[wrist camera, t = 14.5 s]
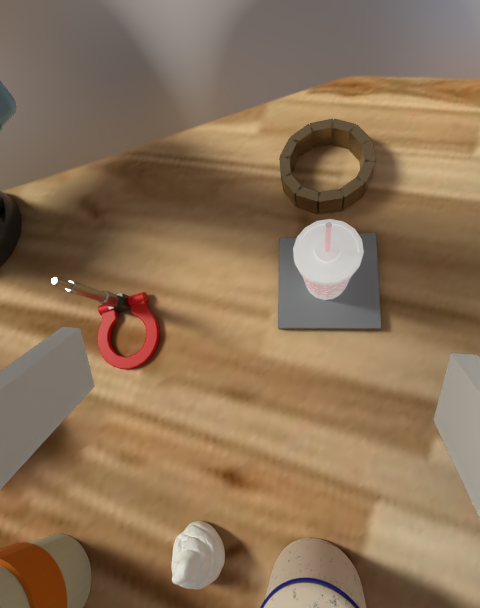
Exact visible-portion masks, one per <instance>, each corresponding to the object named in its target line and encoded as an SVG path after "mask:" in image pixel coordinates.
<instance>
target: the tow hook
mask: <svg viewBox="0 0 480 608" xmlns="http://www.w3.org/2000/svg"><path fill="white" fill-rule="evenodd" d="M51 283H52V284H53V285H56V286H59V287H62V288H65V290H66V291H68V292H71V293H74V294H78V295H81V296H84V297H87V298H90V299H94V300H97V301H99V302H100V303H101V304H103V305H100V306H99V307H98V311H99V313H100V315H102V319H103V321H102V322H101V324H100V328H99V331H98V346H99V350H100V352H101V354H102V357H103V358H104V359H105V360H106V361H107V363H109V364H111V365H112V366H114V367H117V368H120V369H133V368H136V367H139V366H141V365H142V364H144V363H146V362H147V361H148V360H149V359H150V358H151V357H152V355H153V354H154V352H155V350H156V348H157V346H158V342H159V337H160V329H159V325H158V321H157V319H156V317H155V315H154V314H153V313H152V312H151V311H150V310H149V309H148V307H147V302H148V296H147V294H146V293H145V292H142V293H139V294H136V295H133V296H127V295H124V294H122V293H120V294H117V295H116V294H113V293H111V292H108V291H99V290H96V289H94V288H91V287H88V286H85V285H83V284H80V283H77V282H74V281H71V280H70V281H66V280H63V279H60V278H57V277H54V278H52V280H51ZM130 308H131V312H132V314H133V315H136V316H137V317H139V318H140V319H141V320H142V321H143V322H144V324H145V326H146V331H147V335H146V341H145V343H144V345H143V347H142V348H141V350H140V351H139V352H138V353H136V354H134V355H132V356H129V357H124V356H121V355H119V354H118V353H117V352H116V351H115V350H114V349H113V346H112V344H111V332H112V329H113V327H114V325H115V323H116V322H117V321H118V319H119V318H118V312H120V311H123V310H126V309H130Z"/></svg>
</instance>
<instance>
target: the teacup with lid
mask: <svg viewBox="0 0 480 608" xmlns="http://www.w3.org/2000/svg"><path fill="white" fill-rule="evenodd" d="M261 608H366V603H365V598H364V593H363V588H362V584H361V581H360V578H359V575H358V573H357V571H356V569H355V567H354V565H353V564H352V562H351V561H350V559H349V558H348V557H347V556H346V555H345V554H344V553H343V552H342V551H341V550H340V549H339V548H337V547H336V546H335V545H333V544H331V543H329V542H327V541H325V540H322V539H317V538H303V539H299V540H296V541H294V542H292V543H290V544H289V545H288V546H286V547H285V548H284V549H283V550H282V552H281V553H280V554H279V556H278V557H277V559H276V561H275V564H274V567H273V571H272V575H271V578H270V582H269V586H268V590H267V594H266V597H265V600H264V602H263V604H262V606H261Z"/></svg>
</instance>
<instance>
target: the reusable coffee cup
mask: <svg viewBox="0 0 480 608" xmlns="http://www.w3.org/2000/svg"><path fill="white" fill-rule="evenodd" d="M91 581H92V580H91V567H90V562H89V559H88V556H87V554H86V552H85V550H84V548H83V547H82V546H81V544H80V543H79V542H78V541H77V540H75V539H74V538H73V537H70V536H68V535H65V534H53V535H50V536H47V537H44V538H42V539H39V540H36V541H33V542H31V543H26V542H25V543H16V544H13V545H10V546H7V547H4V548H1V549H0V608H83V607H84V606H85V604H86V602H87V599H88V596H89V593H90V589H91Z"/></svg>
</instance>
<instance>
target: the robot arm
mask: <svg viewBox="0 0 480 608" xmlns="http://www.w3.org/2000/svg"><path fill="white" fill-rule="evenodd" d="M15 112H16V102H15V100H14V98H13V96H12V95H11V93H10V92H9V91H8V90H7V88H6V87H5V86H4V85H3V84H2V82H1V81H0V131H1V130H2V126H3V125H4V124H5V123H6V122H7V121H8V120H9V119H10V118H11V117H12V116H13V115H14V114H15ZM20 228H21V216H20V211H19V208H18V206H17V204H16V203H15V201H14V200H13V199H12V198H11V197H9V196H8V195H6V194H5V193H3V192H1V191H0V266H1V265H2V264H3V263H4V262H5V261H6V259H7V258H8V257H9V255H10V254H11V252H12V251H13V249H14V247H15V245H16V243H17V240H18V237H19V233H20ZM93 388H94V382H93V378H92V374H91V370H90V366H89V362H88V358H87V354H86V349H85V345H84V341H83V337H82V333H81V329H80V328H70V327H62V328H61V329H59V330H58V331H56V332H55V333H53V334H52V335H51V336H49V337H48V338H46V339H45V340H44V341H42V342H41V343H39V344H38V345H37V346H35V347H34V348H32V349H31V350H30V351H28V352H27V353H25V354H24V355H23V356H21V357H20V358H18V359H17V360H15V361H14V362H13V363H11V364H10V365H8V366H7V367H6V368H4V369H3V370H1V371H0V489H1V488H2V487H3V486H4V485H5V484H6V483H7V482H8V481H9V480H10V479H11V477H12V476H13V475H14V474H15V473H16V472H17V471H18V470H19V469H20V468H21V466H22V465H23V464H24V463H25V462H26V461H27V460H28V459H29V458H30V457H31V456H32V454H33V453H34V452H35V451H36V450H37V449H38V448H39V447H40V446H41V445H42V443H43V442H44V441H45V440H46V439H47V438H48V437H49V436H50V435H51V434H52V432H53V431H54V430H55V429H56V428H57V427H58V426H59V425H60V424H61V423H62V422H63V420H64V419H65V418H66V417H67V416H68V415H69V414H70V413H71V412H72V411H73V409H74V408H75V407H76V406H77V405H78V404H79V403H80V402H81V401H82V400H83V399H84V397H85V396H86V395H87V394H88V393H89V392H90V391H91V390H92V389H93ZM433 421H434V423H435V425H436V427H437V429H438V431H439V433H440V435H441V438H442V440H443V442H444V444H445V446H446V448H447V450H448V452H449V455H450V457H451V459H452V461H453V463H454V465H455V467H456V469H457V472H458V474H459V476H460V478H461V480H462V482H463V484H464V486H465V489H466V491H467V493H468V495H469V497H470V499H471V501H472V503H473V505H474V508H475V510H476V512H477V514H478V516H479V518H480V357H479V356H478V355H469V354H455V353H451V355H450V359H449V363H448V366H447V370H446V374H445V378H444V382H443V386H442V389H441V393H440V397H439V401H438V405H437V408H436V412H435V416H434V420H433Z"/></svg>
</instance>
